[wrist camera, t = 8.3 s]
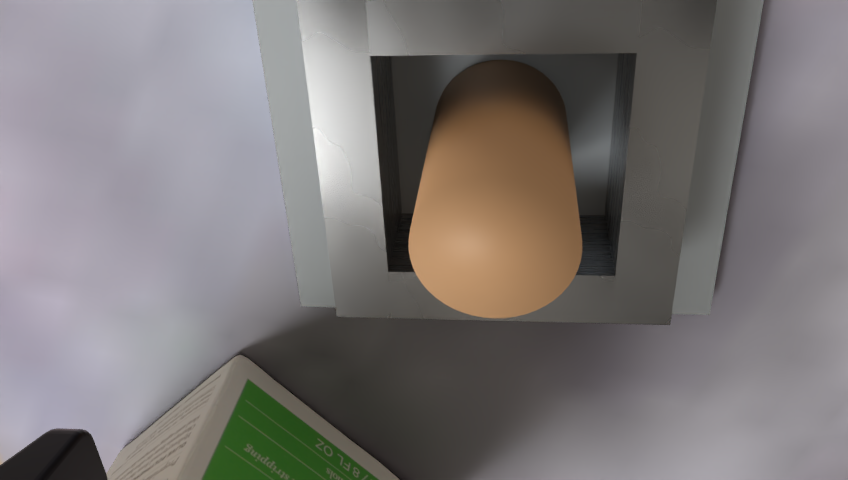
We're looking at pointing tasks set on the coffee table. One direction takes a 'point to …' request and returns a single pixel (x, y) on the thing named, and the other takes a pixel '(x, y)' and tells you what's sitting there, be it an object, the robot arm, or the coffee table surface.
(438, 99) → the piston base
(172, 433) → the skincare box
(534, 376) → the coffee table surface
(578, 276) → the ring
